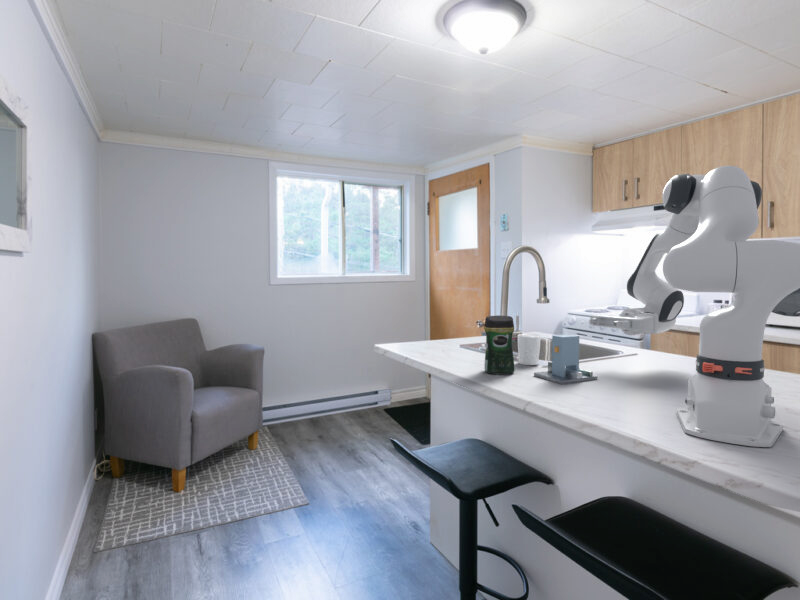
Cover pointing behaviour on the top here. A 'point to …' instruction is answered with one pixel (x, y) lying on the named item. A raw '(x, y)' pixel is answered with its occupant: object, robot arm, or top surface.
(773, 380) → the top surface
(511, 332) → the coffee jar
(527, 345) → the white cup
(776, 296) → the robot arm
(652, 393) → the top surface
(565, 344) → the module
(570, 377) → the rail plate
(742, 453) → the top surface
